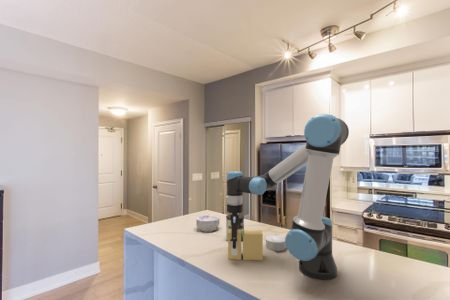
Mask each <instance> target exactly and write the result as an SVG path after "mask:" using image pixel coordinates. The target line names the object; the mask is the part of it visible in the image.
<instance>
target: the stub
mask: <svg viewBox="0 0 450 300" xmlns="http://www.w3.org/2000/svg"><path fill="white" fill-rule="evenodd" d="M231 238H232V229H229V231H228V241H227V245H228V247H227V256H228V258H227V259H228V260H242V242H241V230H237V255H231V241H230V239H231Z"/></svg>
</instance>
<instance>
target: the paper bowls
mask: <svg viewBox="0 0 450 300" xmlns="http://www.w3.org/2000/svg"><path fill="white" fill-rule="evenodd" d="M195 220H196V221H195V222H196V227H197V228H199V230H200V231H201V232H206V233H208V232H213V231H216V230H217V227H219V226H220V217H219V216H217V215H210V214H208V215H207V214H206V215H200V216H197V217H196V219H195Z"/></svg>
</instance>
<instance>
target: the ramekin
mask: <svg viewBox="0 0 450 300" xmlns="http://www.w3.org/2000/svg"><path fill="white" fill-rule="evenodd" d="M285 238H286V236H284V235H280V234H279V235H278V234H269V235H267V236H265V238H264V241H265V244H266V248H268V249H269V250H272V251H274V252H276V253H277V252H284V251H285V249H287V247H286V244H285Z"/></svg>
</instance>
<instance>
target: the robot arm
mask: <svg viewBox="0 0 450 300" xmlns="http://www.w3.org/2000/svg"><path fill="white" fill-rule="evenodd" d="M349 133H350V130H349V127H348V124H347V123H346V122H345V121H344V120H342V119H341V118H338V117H336V116H334V115H333V114H328V113H327V114H326V113H321V114H317V115H314V116H312V117H311V118H310V119H309V120H308V121H307V123H306V124H305V125H304V129H303V135H304V139H305V140H306V143H305V144H303V145H302V146H301V147H299V148H298V149H297V150H295V151H294V152H292V153H291V154H290V155H288V156H287V157H286V158H285V159H283V160H281V161H280V162H279V163H278V164H276V165H275V166H274V167H272V168H271V169H270V170H268V171H267V172H265V173H264V174H261V175H256V176H244V175H243V172H242V171H237V170H236V171H235V170H234V171H228V172H227V173H226V196H225V199H226V203H227V204H226V212H227V213H228V214H232V215H231V217H230V219H231V226H232V238H231V239H230V241H231V255H237V230H239V229H237V228H238V227H237V226H238V221H239V215H237V214H241V213H243V208H244V207H243V201H244V200H243V199H244V197H243V193H245V194H252V195H255V196H257V195H260V196H261V195H264V193H265V192H266V191H271V190H273V189H275V188H277V186H278V184H280V183H282V182H283V181H285V179H288V178H289V177H291V176H292V175H293V174H294V173H296V172H298V171H299V170H301V169H302V168H303V167H304V168H305V166H306V168H305V174H304V179H303V184H302V190H301V196H300V201H299V207H298V211H297V212H298V213H297V215H295V216H293V218H292V222H291V223H292V224H291V228H290V230H289V231H288V232H287V233H286V235H285V244H286V249H287V250H288V251H289V254H291V255H292V257H294V258H295V259H297V260H299V262H298V269H299V271H300V272H301V273H302V274H304V275H305V276H308V277H310V278H311V279H316V280H325V281H326V280H332V279H334V278H336V277H337V276H338V267H337V264H336V261H335V258H334V255H333V223H332V219H331V218H329V217H326V216H323V215H324V211H325V205H326V199H327V194H328V189H329V183H330V179H331V174H332V168H333V165H334V158H336V157H338V156H339V155H340V151H341V148H342V147H341V146H342V145H344V144H345V142H347V140H348V138H349Z"/></svg>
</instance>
